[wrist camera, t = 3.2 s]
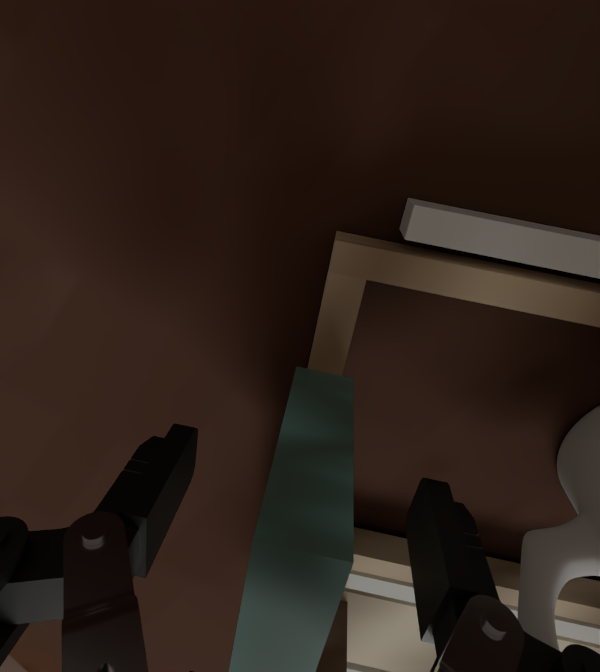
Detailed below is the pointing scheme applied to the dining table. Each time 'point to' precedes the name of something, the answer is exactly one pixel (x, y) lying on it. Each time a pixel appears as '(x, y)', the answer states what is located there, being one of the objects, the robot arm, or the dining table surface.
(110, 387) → the dining table surface
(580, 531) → the mug
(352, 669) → the lane rails
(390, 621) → the plain strip
